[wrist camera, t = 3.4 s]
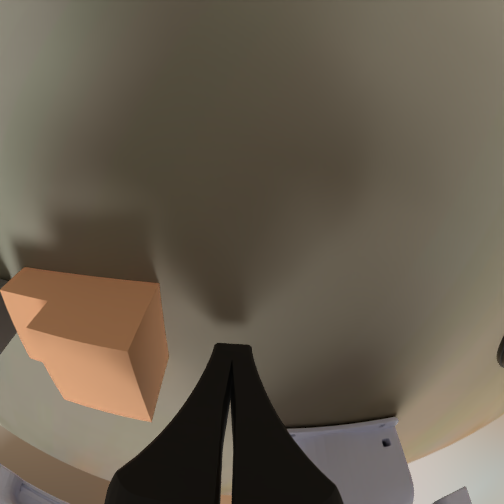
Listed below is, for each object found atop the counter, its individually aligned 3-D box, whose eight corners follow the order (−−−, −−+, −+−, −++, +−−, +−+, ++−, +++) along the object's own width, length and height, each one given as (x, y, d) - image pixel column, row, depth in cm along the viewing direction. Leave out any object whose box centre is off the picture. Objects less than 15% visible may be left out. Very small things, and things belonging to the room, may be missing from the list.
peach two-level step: (160, 280, 12) (127, 351, 8) (169, 353, 14) (151, 421, 10) (26, 265, 11) (-22, 311, 8) (48, 330, 13) (15, 379, 9)
